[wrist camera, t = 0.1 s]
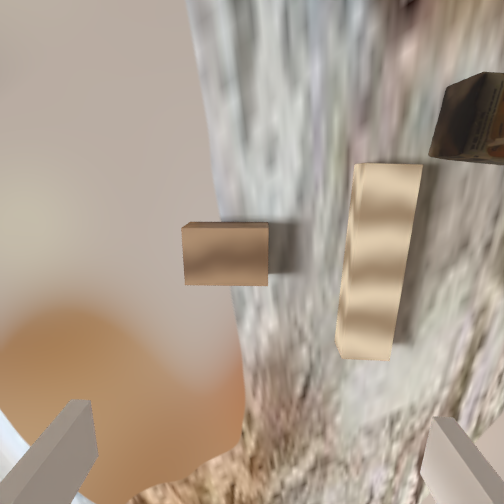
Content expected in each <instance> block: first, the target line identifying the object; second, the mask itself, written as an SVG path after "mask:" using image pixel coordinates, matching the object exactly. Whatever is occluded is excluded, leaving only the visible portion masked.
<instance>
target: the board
mask: <svg viewBox="0 0 504 504" xmlns="http://www.w3.org/2000/svg"><path fill="white" fill-rule="evenodd" d="M422 168H423V165H418V164H380V163H362V164H355V166H354V175H353V184H352V193H351V202H350V210H349V219H348V228H347V237H346V246H345V255H344V263H343V272H342V281H341V290H340V299H339V308H338V316H337V325H336V334H335V343H336V346H337V348H338V350H339V353H340V355H341V358H342V359H358V360H380V361H390V355H391V349H392V343H393V337H394V332H395V326H396V320H397V314H398V308H399V302H400V297H401V291H402V285H403V279H404V273H405V267H406V262H407V256H408V250H409V244H410V238H411V233H412V227H413V221H414V215H415V209H416V203H417V198H418V192H419V186H420V180H421V174H422Z"/></svg>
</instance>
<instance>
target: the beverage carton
mask: <svg viewBox="0 0 504 504" xmlns="http://www.w3.org/2000/svg"><path fill="white" fill-rule="evenodd" d="M428 155H429V156H430V157H434V158H440V159H446V160H455V161H465V162H474V163H485V164H496V165H504V73H494V72H482V73H480V74H477V75H474V76H472V77H469V78H468V79H464V80H462V81H460V82H458V83H455V84H453V85H450V86H448V87H447V88H446V91H445V95H444V98H443V103H442V107H441V111H440V114H439V118H438V122H437V125H436V128H435V132H434V136H433V139H432V144H431V147H430V150H429V153H428Z"/></svg>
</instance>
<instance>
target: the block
mask: <svg viewBox="0 0 504 504" xmlns="http://www.w3.org/2000/svg"><path fill="white" fill-rule="evenodd" d="M181 231H182V246H183V261H184V276H185V285H223V286H268V236H269V228H268V222H189V223H188V224H187V225H185V226H184V227H182V229H181Z"/></svg>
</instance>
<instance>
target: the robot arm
mask: <svg viewBox="0 0 504 504" xmlns="http://www.w3.org/2000/svg"><path fill="white" fill-rule="evenodd" d="M97 457H98V450H97V442H96V435H95V429H94V421H93V414H92V408H91V401H90V400H73V399H72V400H70V401H69V403H68V404H67V405H66V406H65V407H64V408H63V410H62V411H61V412H60V413H59V414H58V416H57V417H56V418H55V419H54V420H53V422H52V423H51V424H50V425H49V426H48V427H47V429H46V430H45V431H44V432H43V433H42V434H41V436H40V437H39V438H38V439H37V440H36V441H35V443H34V444H33V445H32V446H31V447H30V449H29V450H28V451H27V452H26V453H25V454H24V456H23V457H22V458H21V459H20V460H19V461H18V463H17V464H16V465H15V466H14V467H13V469H12V470H11V471H10V472H9V473H8V474H7V476H6V477H5V478H4V479H3V480H2V482H1V483H0V504H71V502H72V500H73V499H74V497H75V495H76V493H77V492H78V490H79V488H80V487H81V485H82V483H83V481H84V480H85V478H86V476H87V475H88V473H89V471H90V469H91V468H92V466H93V464H94V462H95V461H96V459H97ZM420 474H421V475H422V477H423V479H424V481H425V483H426V485H427V487H428V489H429V491H430V493H431V494H432V496H433V498H434V500H435V502H436V504H504V482H503V480H502V479H501V478H500V476H499V475H498V474H497V473H496V472H495V470H494V469H493V467H492V466H491V465H490V464H489V462H488V461H487V460H486V459H485V457H484V456H483V455H482V453H481V452H480V451H479V450H478V448H477V447H476V446H475V444H474V443H473V442H472V441H471V439H470V438H469V437H468V435H467V434H466V433H465V432H464V430H463V429H462V428H461V427H460V425H459V424H458V423H457V421H456V420H455V419H454V418H452V417H433V418H432V422H431V427H430V431H429V436H428V440H427V445H426V449H425V454H424V458H423V462H422V467H421V471H420Z"/></svg>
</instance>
